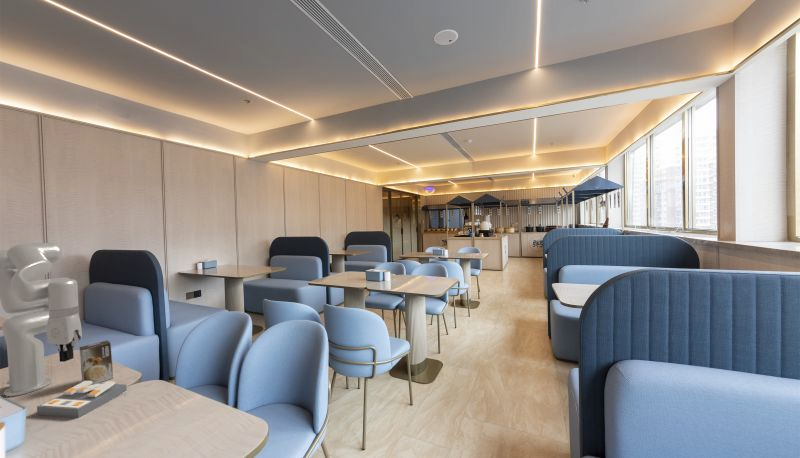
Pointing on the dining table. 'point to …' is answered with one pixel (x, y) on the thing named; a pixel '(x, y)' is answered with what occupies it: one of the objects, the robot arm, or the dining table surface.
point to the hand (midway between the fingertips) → (66, 359)
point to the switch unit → (79, 402)
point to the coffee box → (96, 362)
